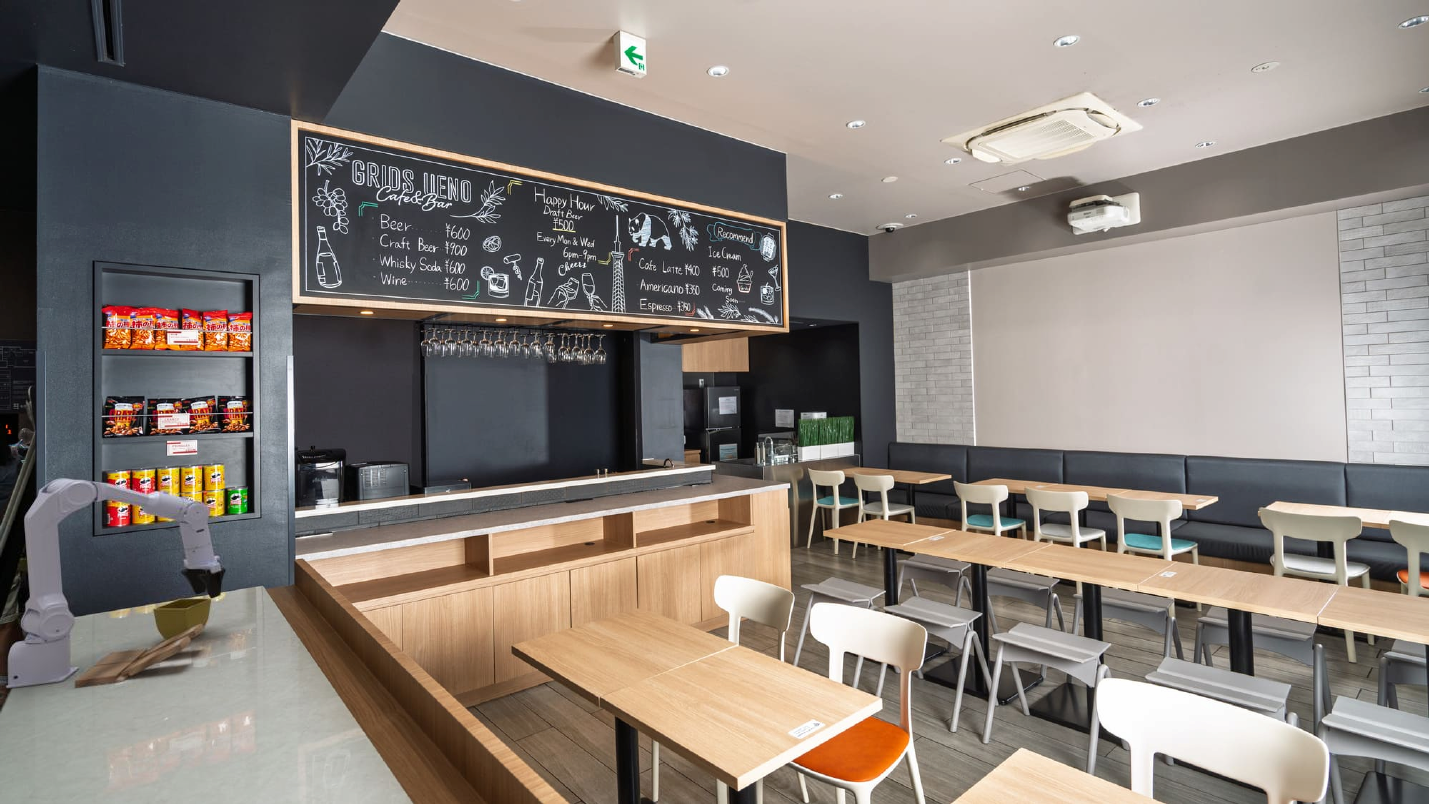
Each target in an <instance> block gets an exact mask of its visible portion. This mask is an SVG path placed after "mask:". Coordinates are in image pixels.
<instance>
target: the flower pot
mask: <svg viewBox="0 0 1429 804" xmlns="http://www.w3.org/2000/svg"><path fill="white" fill-rule="evenodd" d="M211 602H212V598H178V599H176V600H173V601H170V602H168V603H166V604H163V605H160V606H157V607H155V608H153V609H152V610H153V615H154V621H155V625H156V627H157V628H156V629H157V631H158V632H159V634H160V635H161V636H162V638H164V640H165V641H166V640H169V639H171V638H173V637H175V636H177V635H179V634H181V633H183V632H185V631H187V630H189V629H191V628H193V627H195V626H197V625H199V624H201V623H202V625H203V627H204V628H205V626H206V625H207V623H208V622H209V621H208V620H209V617H210V613H211V612H210V611H211V604H212V603H211ZM201 633H202V631H201V632H200V633H199V634H198V635H200V634H201Z"/></svg>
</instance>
